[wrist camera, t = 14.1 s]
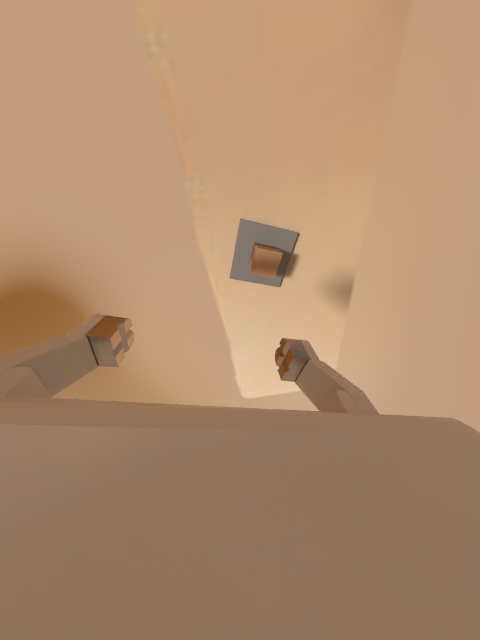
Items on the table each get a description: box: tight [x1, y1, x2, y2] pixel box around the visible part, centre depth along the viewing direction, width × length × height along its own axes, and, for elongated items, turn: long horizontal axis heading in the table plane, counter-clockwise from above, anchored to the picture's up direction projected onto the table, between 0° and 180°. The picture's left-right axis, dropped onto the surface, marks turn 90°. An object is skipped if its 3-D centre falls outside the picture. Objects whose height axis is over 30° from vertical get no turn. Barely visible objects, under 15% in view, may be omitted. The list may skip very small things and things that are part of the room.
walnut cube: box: [248, 242, 283, 278], centre depth 35 cm, size 5×5×5 cm
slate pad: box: [230, 219, 298, 287], centre depth 37 cm, size 12×12×1 cm
